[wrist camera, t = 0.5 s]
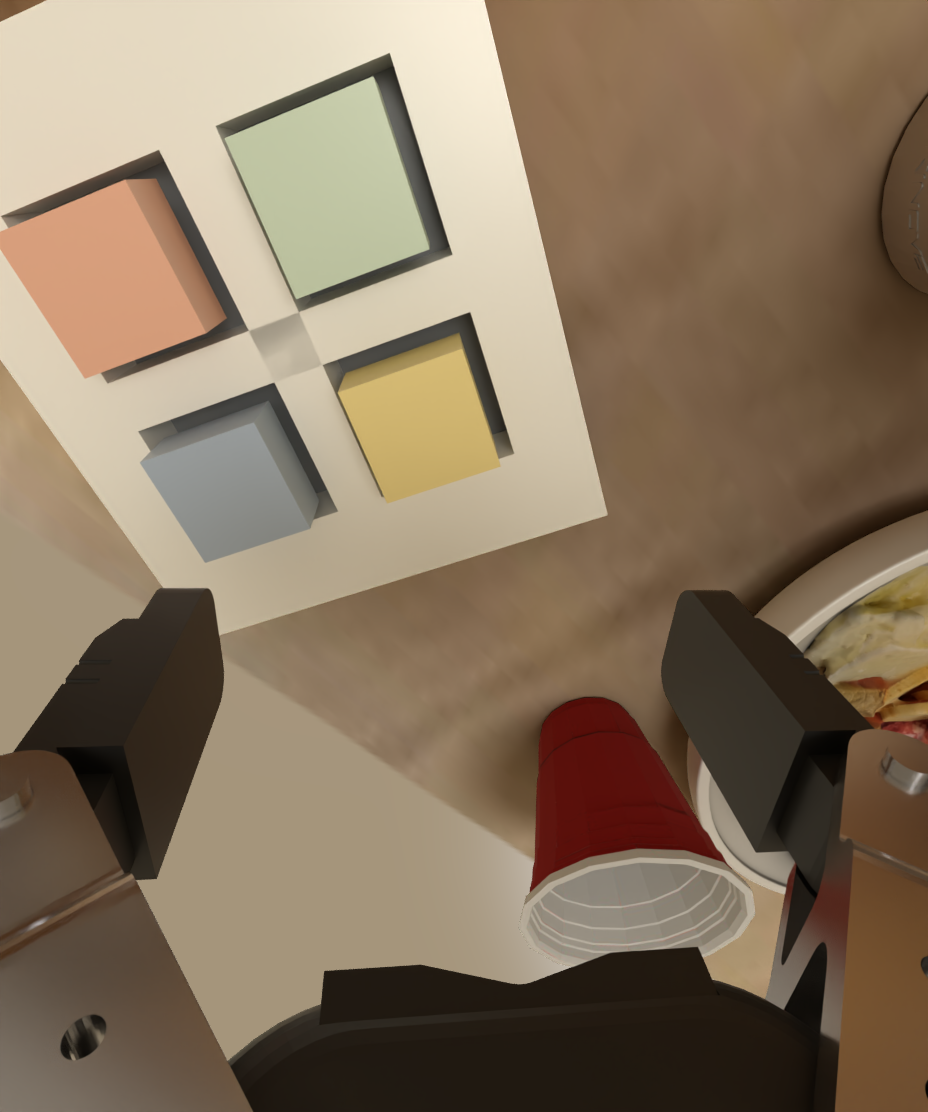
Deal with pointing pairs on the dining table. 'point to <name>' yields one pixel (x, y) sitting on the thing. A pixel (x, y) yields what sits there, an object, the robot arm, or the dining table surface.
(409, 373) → the key mustard
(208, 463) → the key slate
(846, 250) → the dining table surface
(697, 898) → the plastic cup
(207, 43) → the keypad board
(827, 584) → the bowl
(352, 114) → the key sage
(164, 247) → the key terracotta
